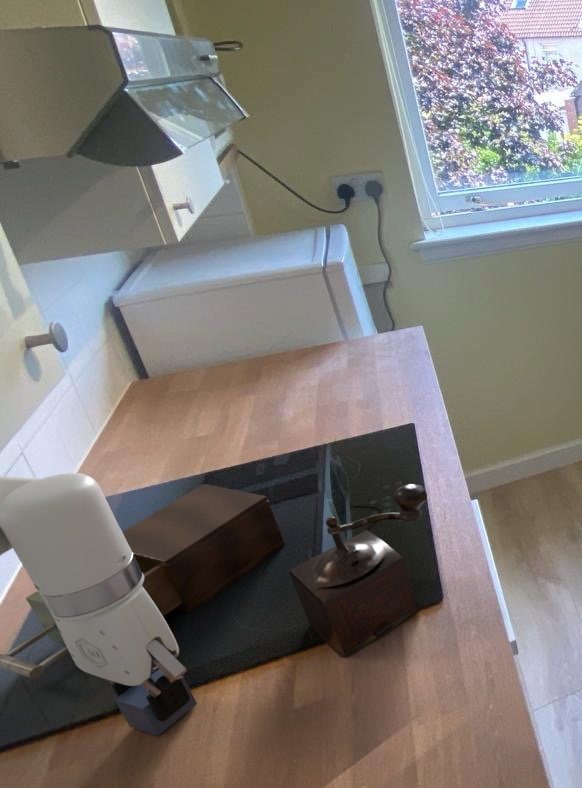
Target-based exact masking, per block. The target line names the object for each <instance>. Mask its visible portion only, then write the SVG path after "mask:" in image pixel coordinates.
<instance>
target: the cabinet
mask: <svg viewBox="0 0 582 788" xmlns="http://www.w3.org/2000/svg"><path fill="white" fill-rule="evenodd" d="M121 531H122V533H123V535H124V537H125V539H126V541H127V543H128V545H129V547H130V549H131V551H132V553H133V555H134V557H135V558H138V559H142V560H146V561H151V562H155V563H159V564H163V565H164V567H165V569H166V571H167V573H168V575H169V577H170V579H171V581H172V583H173V585H174V587H175V589H176V591H177V593H178V595H179V597H180V599H181V601H182V604H180V605H179V606H177V607H176V608H175V610H179V611H182V612H186V613H190V614H191V613H193V612H194V611H196V610H197V609H198V608H199V607H201V606H202V605H203V604H205V603H207V602H208V601H210V600H211V599H212V598H213V597H214V596H216V595H217V594H219V593H220V592H222V591H223V590H224V589H226V588H227V587H228V586H230V585H231V584H232V583H234V582H236V581H237V580H238V579H239V578H241V577H242V576H243V575H245V574H246V573H248V572H249V571H250V570H252V569H254V568H255V567H256V566H257V565H259V564H260V563H261V562H263V561H264V560H265V559H267V558H269V557H270V556H271V555H272V554H274V553H275V552H277V551H278V550H280V549H281V548H283V546H285V545H286V542H285V540H284V538H283V535H282V533H281V530H280V528H279V525H278V523H277V520H276V517H275V515H274V512H273V510H272V508H271V505H270V503H269V500H268V498H267V496H266V495H261V494H256V493H251V492H246V491H241V490H237V489H230V488H226V487H221V486H216V485H212V484H206V483H203V484H202V485H200V486H198V487H197V488H194V489H193V490H190V492H188V493H186V494H184V495H182V496H181V497H179V498H177V499H175V500H174V501H172V502H170V503H169V504H167V505H166V506H164V507H162V508H160V509H158V510H157V511H155V512H153V513H152V514H150V515H148V516H146V517H145V518H143V519H141V520H139V521H138V522H136V523H134V524H133V525H131V526H129V527H128V528H126V529H125V530H121Z"/></svg>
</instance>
